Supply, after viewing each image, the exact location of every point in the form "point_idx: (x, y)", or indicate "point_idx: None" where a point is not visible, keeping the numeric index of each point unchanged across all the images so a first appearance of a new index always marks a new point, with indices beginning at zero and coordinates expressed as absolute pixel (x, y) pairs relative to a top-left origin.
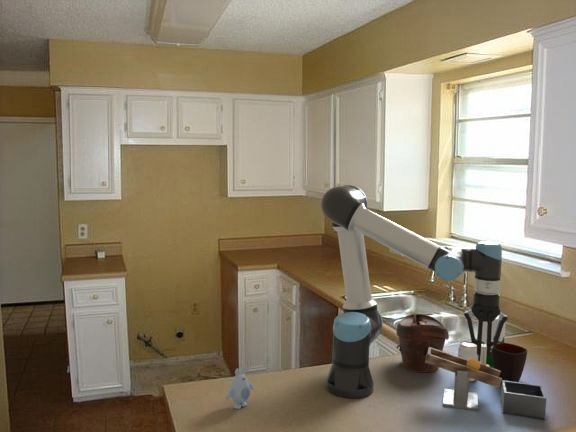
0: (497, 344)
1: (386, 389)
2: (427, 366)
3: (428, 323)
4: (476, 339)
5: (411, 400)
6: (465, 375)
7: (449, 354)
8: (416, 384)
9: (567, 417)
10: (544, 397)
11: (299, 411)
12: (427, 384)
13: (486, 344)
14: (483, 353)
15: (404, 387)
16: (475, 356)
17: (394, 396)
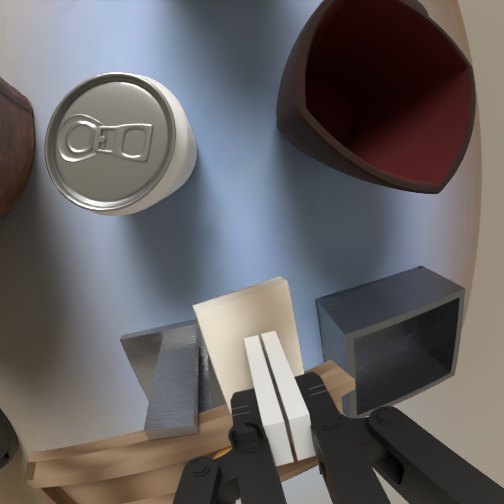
0: (317, 26)
1: (12, 395)
2: (3, 212)
3: None
4: (236, 486)
5: (87, 428)
6: None
7: (114, 477)
8: (36, 329)
9: (465, 292)
10: (451, 373)
11: (11, 496)
12: (58, 311)
13: (311, 430)
14: (273, 373)
15: (28, 366)
16: (181, 177)
17: (48, 423)
